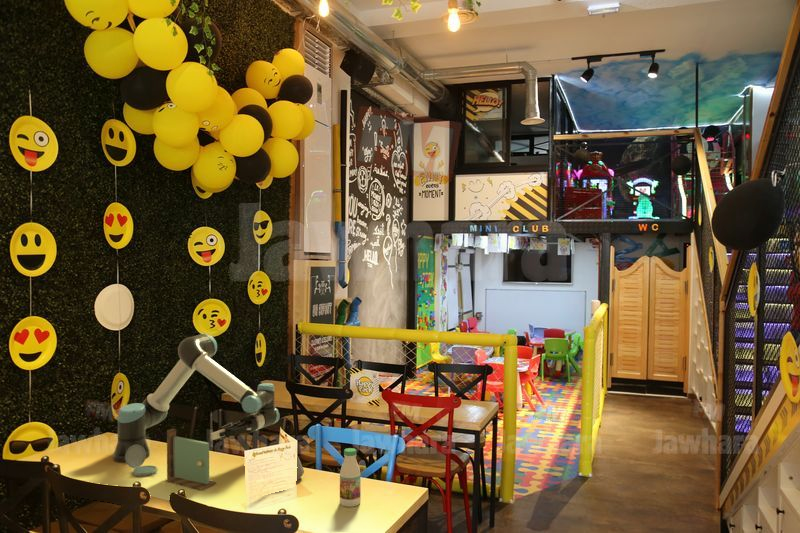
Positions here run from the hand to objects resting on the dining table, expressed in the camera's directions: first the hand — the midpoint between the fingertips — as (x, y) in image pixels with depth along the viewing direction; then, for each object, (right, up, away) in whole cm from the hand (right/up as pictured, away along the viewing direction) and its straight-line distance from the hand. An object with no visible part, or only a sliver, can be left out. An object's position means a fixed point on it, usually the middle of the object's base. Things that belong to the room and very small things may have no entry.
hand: (212, 436), depth 250 cm
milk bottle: (+59, -18, -25) cm, 67 cm away
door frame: (-8, -17, -4) cm, 20 cm away
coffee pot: (+30, -18, -4) cm, 35 cm away
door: (-8, -16, -6) cm, 19 cm away
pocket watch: (-31, -18, +7) cm, 36 cm away
